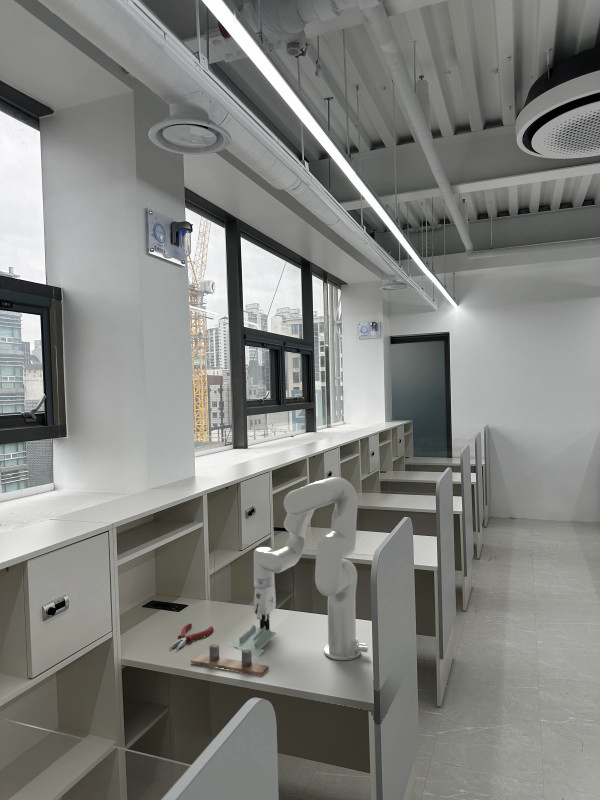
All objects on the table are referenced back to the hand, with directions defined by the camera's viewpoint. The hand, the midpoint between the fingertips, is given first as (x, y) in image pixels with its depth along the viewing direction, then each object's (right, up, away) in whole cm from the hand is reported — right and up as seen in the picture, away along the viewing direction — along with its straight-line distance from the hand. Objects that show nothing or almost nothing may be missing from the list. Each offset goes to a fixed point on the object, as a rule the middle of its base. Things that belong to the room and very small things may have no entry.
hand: (264, 630), depth 209 cm
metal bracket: (-3, -2, -9) cm, 10 cm away
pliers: (-29, -3, -3) cm, 29 cm away
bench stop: (-10, -1, -26) cm, 28 cm away
